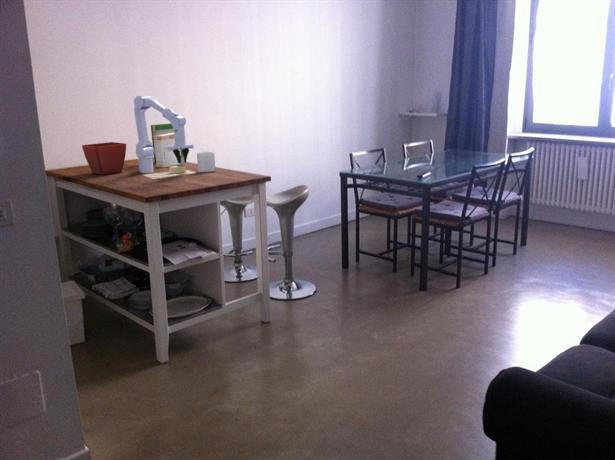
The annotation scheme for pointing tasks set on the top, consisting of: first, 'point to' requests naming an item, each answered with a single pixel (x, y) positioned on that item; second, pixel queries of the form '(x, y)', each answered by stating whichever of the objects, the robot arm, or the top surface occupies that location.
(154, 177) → the subfloor board
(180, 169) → the cream rectangular block
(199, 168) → the white rounded block
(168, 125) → the green white carton
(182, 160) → the silver metal cylinder
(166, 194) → the top surface
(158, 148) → the coffeecake box
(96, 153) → the plant pot
